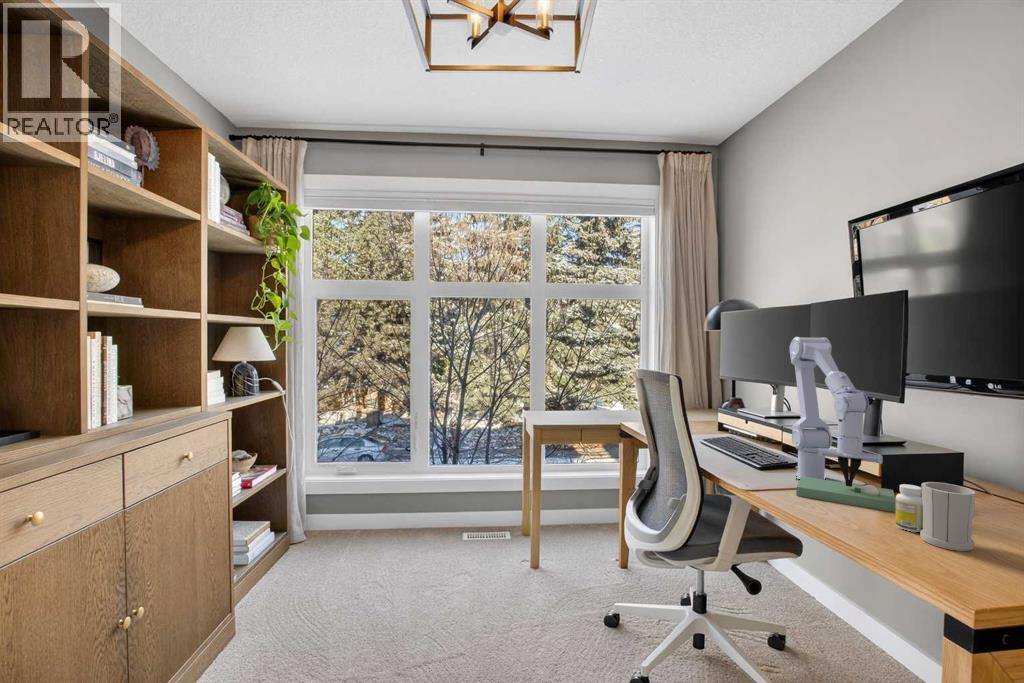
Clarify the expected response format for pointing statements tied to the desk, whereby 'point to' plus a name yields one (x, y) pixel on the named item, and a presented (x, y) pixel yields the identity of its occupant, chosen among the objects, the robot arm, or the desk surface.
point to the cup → (948, 515)
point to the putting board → (845, 494)
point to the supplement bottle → (909, 508)
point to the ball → (870, 490)
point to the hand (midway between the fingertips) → (848, 485)
